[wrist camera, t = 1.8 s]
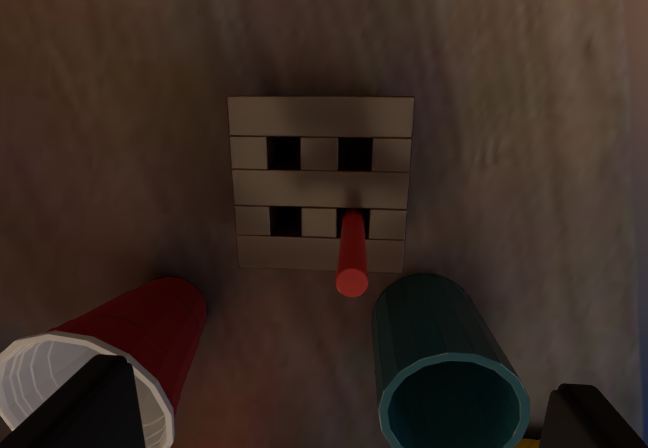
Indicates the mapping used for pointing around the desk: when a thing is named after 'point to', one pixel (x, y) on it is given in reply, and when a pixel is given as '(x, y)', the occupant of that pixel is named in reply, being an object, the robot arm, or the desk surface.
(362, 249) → the straw
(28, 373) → the plastic cup
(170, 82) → the desk surface
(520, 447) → the duckling
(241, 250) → the straw stand
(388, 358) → the tumbler
